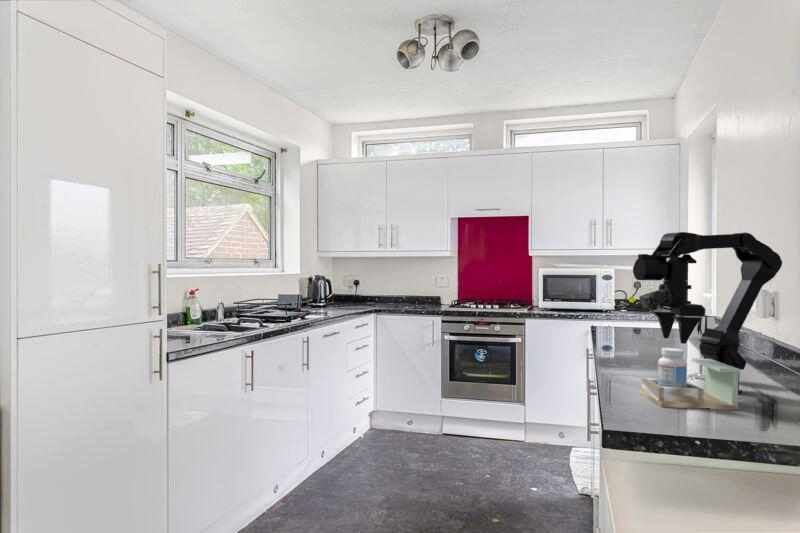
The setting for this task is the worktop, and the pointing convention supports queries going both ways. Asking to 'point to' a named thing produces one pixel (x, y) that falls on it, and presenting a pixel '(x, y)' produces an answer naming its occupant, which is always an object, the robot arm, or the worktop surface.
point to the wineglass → (697, 335)
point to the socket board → (682, 396)
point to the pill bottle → (672, 368)
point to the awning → (720, 380)
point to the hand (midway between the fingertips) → (674, 340)
